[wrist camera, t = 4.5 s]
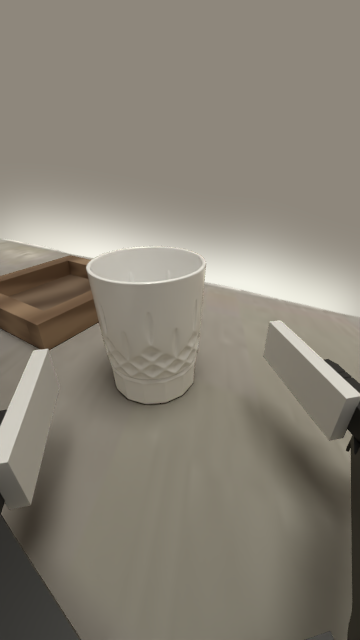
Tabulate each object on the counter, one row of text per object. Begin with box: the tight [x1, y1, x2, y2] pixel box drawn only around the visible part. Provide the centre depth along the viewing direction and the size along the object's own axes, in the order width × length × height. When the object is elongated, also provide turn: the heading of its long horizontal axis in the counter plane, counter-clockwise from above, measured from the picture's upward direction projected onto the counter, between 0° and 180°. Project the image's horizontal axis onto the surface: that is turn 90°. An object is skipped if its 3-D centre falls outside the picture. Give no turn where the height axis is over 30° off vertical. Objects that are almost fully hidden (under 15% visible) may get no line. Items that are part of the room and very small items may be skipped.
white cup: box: [86, 246, 206, 404], centre depth 21 cm, size 8×8×10 cm
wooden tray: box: [0, 255, 99, 350], centre depth 35 cm, size 16×16×3 cm
